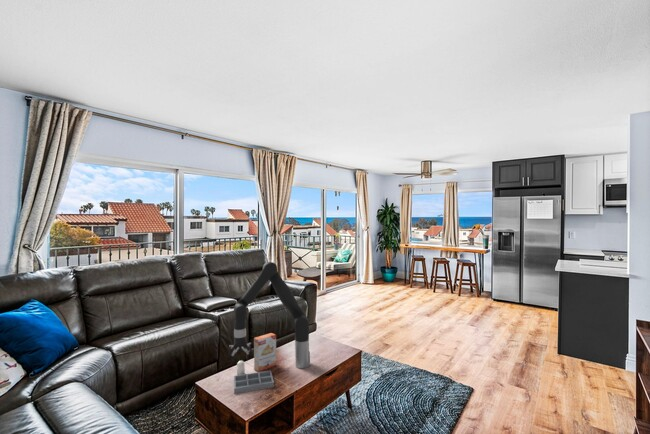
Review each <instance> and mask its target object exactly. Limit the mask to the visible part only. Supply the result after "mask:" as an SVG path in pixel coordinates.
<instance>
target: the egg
mask: <svg viewBox="0 0 650 434" xmlns="http://www.w3.org/2000/svg"><path fill="white" fill-rule="evenodd" d="M245 367H246V366H245V362H244V360H239V361H238V362H237V363H236V376H238V375H244V374H246V373H245V372H246V371H245V370H246V369H245Z"/></svg>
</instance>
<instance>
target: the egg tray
mask: <svg viewBox="0 0 650 434" xmlns="http://www.w3.org/2000/svg"><path fill="white" fill-rule="evenodd" d="M274 387H275V381H274V377H273V374H272V370H265V371H264V370H263V371H260V372H258V371H257V372H252V373H251V372H250V373H247V374H246V373H245V374H244V375H234V376H233V391H234V392H233V394H240V393H246V392H251V391H252V392H253V391H258V390H263V389H269V388H274Z"/></svg>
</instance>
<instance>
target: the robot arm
mask: <svg viewBox="0 0 650 434" xmlns="http://www.w3.org/2000/svg"><path fill="white" fill-rule="evenodd" d="M268 281H269V282H270V283H271V285H272V287H273V289H274V291H275V293H276V295H277V297H278V299H279V300H280V302H281V303H282V305H283V306H284V307H285V308H286V309H287V310H288V311H289V313H290V314H291V316H292V318H293V321H294V342H295V343H294V346H295V347H294V348H295V349H294V350H295V351H294V353H295V355H294V356H295V362H294V363H295V367H296V368H298V369H307V368H308V367H311V352H310V326H309V325H310V323H309V318H308V316H307V315H306V314H305V313H304V311H303V310H302V308H301V306H299V303H298V301H297V299H296V297H295V296H294V292H292V291H291V288H290V287H289V286H288V284H287V283H286V282H285V281H284V280H283V278H282V276H280V273H279V272H278V266H277V264H276V263H275V262H273V261H266V262H265V263H264V264H263V266H262V271H261V272H260V274H259V276H258V277H257V279H256V280H255V281H254V282H253V283H252V284H251V285H250V286H249V288H248V289H247V290H246V291H245V293H244V294H243V296H242V297H241V298H240V299H239V300H238V301H237V302H236V303H235V305H234V306H233V312H234V313H235V314H234V315H235V317H234V318H235V320H234V328H233V344H229V346H228V356H229V357H230V356H231V362H233V363H234V362H235V354H236V353H237V352H238V353H239V352H244V353H246V361H248V360H249V359H250V354H252V352H253V351H252V342H248V343H247V329H246V328H247V326H246V325H247V323H246V319H247V307H248V306H249V304H250V305H251V304H252V303H253V302H254V301H255V300H256V297H257V296H258V294H259V293H260V291H262V289H263V287H264V286H266V284H267V283H268ZM247 347H248V348H249V349H247ZM232 349H233V351H232Z"/></svg>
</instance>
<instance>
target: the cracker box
mask: <svg viewBox="0 0 650 434" xmlns="http://www.w3.org/2000/svg"><path fill="white" fill-rule="evenodd" d="M253 359H254V361H253V369H254V370H255V371H256V372H257V373H258V372H263V371H264V370H265V371H266V370H267V369H269V368H273V367H275V366H277V334H275V333H272V332H270V333H266V334H263V335H260V336H255V337H254V338H253Z"/></svg>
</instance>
